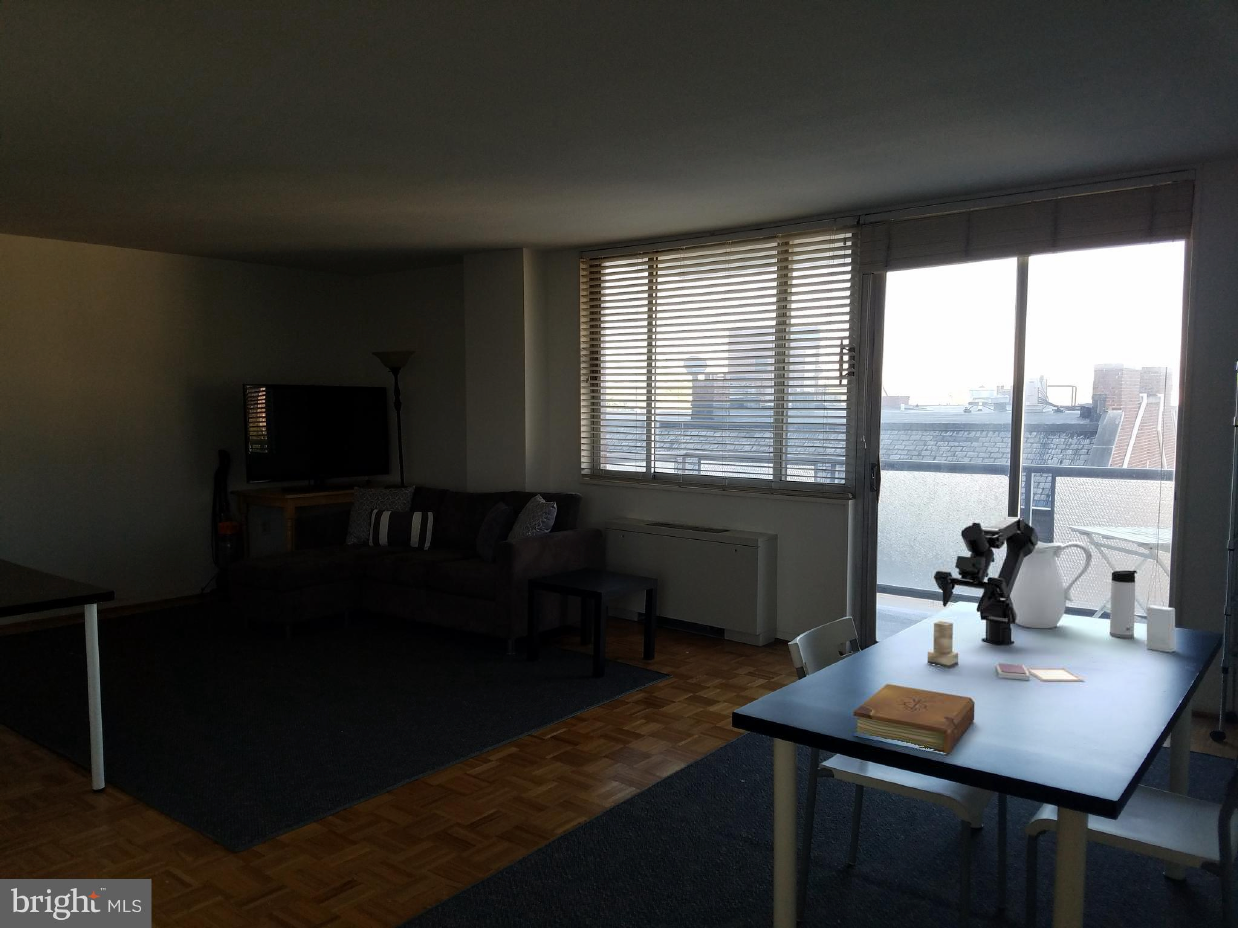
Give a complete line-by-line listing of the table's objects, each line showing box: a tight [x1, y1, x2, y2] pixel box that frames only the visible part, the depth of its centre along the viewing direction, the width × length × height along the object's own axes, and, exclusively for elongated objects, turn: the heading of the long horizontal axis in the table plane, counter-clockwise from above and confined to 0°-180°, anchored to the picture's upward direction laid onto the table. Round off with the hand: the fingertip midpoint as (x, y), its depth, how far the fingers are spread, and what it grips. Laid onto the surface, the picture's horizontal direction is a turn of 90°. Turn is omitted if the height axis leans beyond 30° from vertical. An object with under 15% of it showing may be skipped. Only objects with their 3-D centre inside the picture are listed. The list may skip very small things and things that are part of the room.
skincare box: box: [1146, 605, 1176, 653], centre depth 245 cm, size 6×4×12 cm
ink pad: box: [994, 663, 1031, 681], centre depth 222 cm, size 9×7×2 cm
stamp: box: [927, 620, 959, 669], centre depth 231 cm, size 6×5×11 cm
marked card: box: [1026, 667, 1086, 682], centre depth 221 cm, size 10×10×1 cm
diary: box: [853, 683, 975, 755], centre depth 182 cm, size 23×19×6 cm
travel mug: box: [1109, 569, 1138, 639], centre depth 261 cm, size 6×7×20 cm
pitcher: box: [1010, 540, 1093, 629], centre depth 273 cm, size 24×17×28 cm
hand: (960, 608), depth 235 cm, fingers open, 9 cm apart
